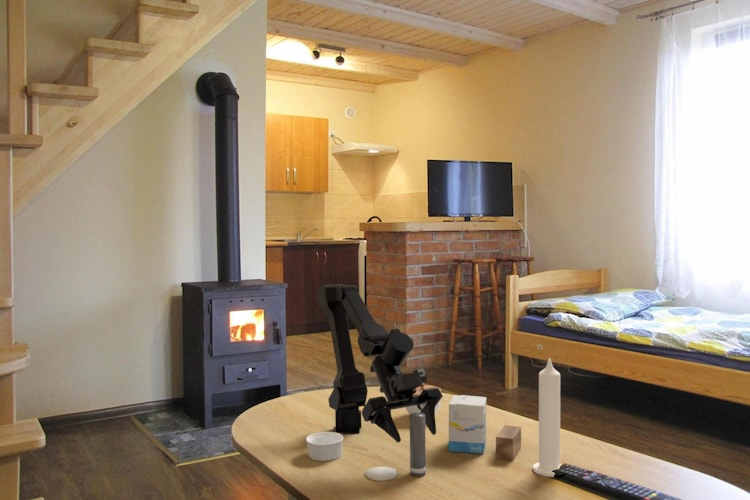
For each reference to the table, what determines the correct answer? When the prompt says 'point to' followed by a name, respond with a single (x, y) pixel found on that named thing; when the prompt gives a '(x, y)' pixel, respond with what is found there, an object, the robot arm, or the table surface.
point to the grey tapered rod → (417, 445)
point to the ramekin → (324, 446)
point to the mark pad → (381, 473)
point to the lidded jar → (419, 389)
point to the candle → (549, 422)
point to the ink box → (467, 424)
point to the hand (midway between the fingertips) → (417, 437)
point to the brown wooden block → (508, 442)
